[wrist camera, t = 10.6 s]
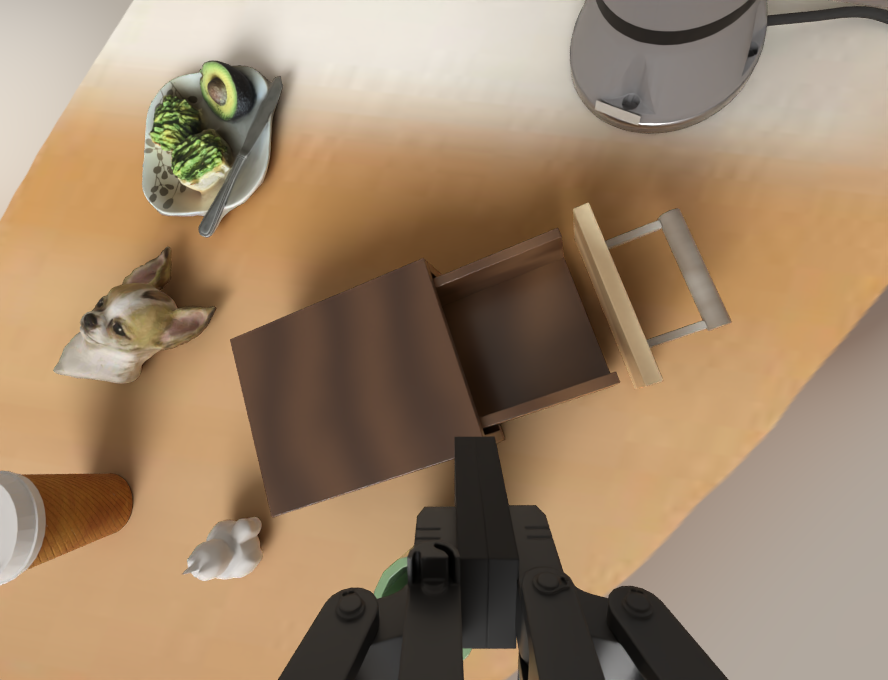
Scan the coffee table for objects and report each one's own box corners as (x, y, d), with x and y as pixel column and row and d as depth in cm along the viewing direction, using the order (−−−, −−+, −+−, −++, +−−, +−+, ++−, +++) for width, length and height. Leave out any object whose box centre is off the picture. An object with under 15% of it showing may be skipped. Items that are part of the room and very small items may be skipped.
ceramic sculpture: (11, 330, 48) (119, 221, 47) (92, 343, 56) (185, 251, 55) (61, 412, 45) (177, 298, 44) (139, 414, 53) (237, 317, 52)
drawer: (658, 204, 41) (673, 166, 34) (727, 359, 38) (758, 349, 32) (412, 303, 46) (383, 287, 39) (458, 447, 43) (435, 455, 36)
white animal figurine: (214, 546, 49) (146, 572, 41) (252, 494, 49) (190, 511, 41) (249, 586, 47) (185, 621, 40) (288, 532, 47) (232, 557, 39)
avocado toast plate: (282, 237, 51) (254, 222, 47) (144, 247, 56) (107, 233, 52) (294, 65, 54) (268, 34, 49) (161, 88, 58) (126, 62, 54)
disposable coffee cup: (113, 439, 54) (-13, 449, 42) (160, 504, 51) (39, 534, 40) (61, 502, 55) (-77, 528, 43) (105, 569, 52) (-29, 616, 41)
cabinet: (452, 284, 46) (423, 257, 37) (505, 439, 43) (486, 448, 34) (289, 350, 50) (229, 339, 41) (327, 497, 46) (271, 517, 38)
